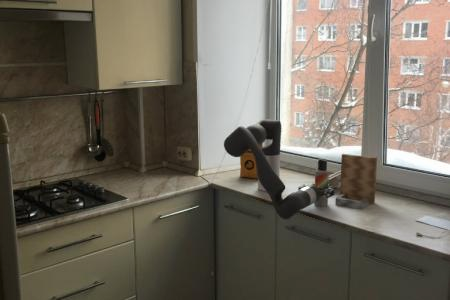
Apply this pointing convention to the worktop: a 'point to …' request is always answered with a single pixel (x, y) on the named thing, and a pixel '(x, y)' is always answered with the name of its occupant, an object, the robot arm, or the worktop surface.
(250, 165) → the coffee package
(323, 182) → the lotion bottle
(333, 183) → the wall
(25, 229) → the worktop surface
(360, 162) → the cleat board
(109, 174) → the worktop surface
